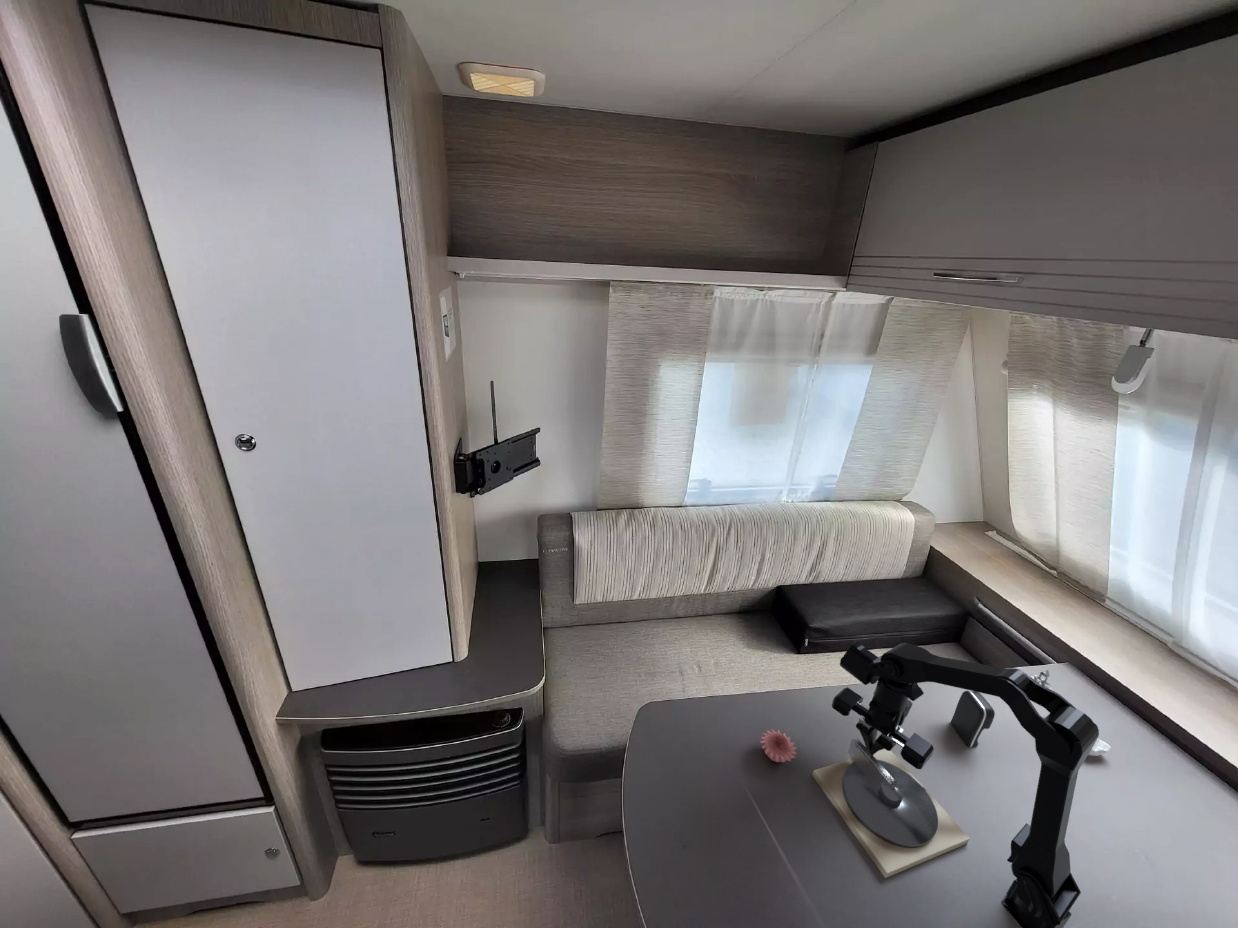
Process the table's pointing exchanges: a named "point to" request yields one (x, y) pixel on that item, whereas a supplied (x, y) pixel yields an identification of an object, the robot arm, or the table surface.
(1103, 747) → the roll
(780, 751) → the flower
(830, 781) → the dial board
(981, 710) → the battery charger
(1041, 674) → the grey irregular lump
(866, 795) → the dial
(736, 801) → the table surface
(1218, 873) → the table surface
